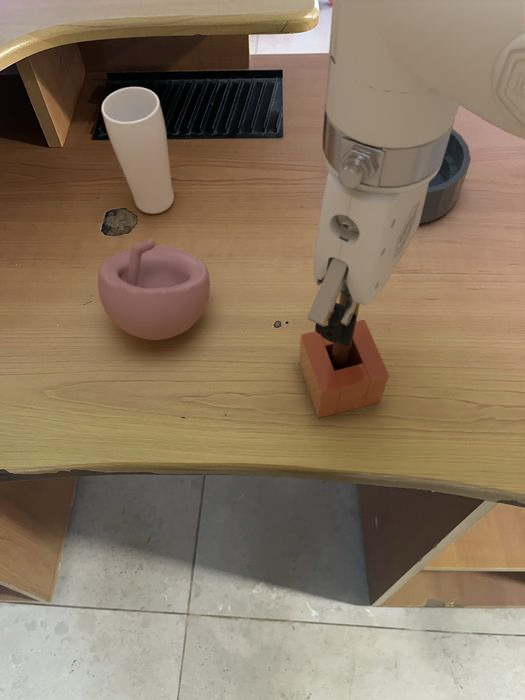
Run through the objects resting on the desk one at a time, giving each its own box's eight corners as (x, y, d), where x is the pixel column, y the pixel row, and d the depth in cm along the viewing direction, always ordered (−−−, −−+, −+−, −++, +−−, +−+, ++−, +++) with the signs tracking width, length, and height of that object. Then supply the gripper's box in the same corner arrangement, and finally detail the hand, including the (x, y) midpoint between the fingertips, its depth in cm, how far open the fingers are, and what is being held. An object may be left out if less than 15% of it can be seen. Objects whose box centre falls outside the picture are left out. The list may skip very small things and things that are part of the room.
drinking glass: (189, 205, 77) (170, 108, 64) (145, 227, 75) (117, 131, 62) (164, 177, 80) (142, 78, 67) (121, 197, 78) (90, 100, 65)
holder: (358, 348, 65) (364, 318, 59) (380, 402, 61) (389, 375, 56) (298, 363, 64) (300, 334, 59) (318, 418, 60) (321, 392, 55)
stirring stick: (340, 372, 63) (363, 252, 46) (346, 385, 62) (370, 269, 45) (325, 375, 63) (341, 257, 46) (330, 389, 62) (349, 274, 45)
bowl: (431, 142, 82) (441, 105, 77) (476, 214, 75) (490, 178, 69) (334, 162, 80) (338, 126, 75) (370, 237, 73) (377, 203, 68)
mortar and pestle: (225, 283, 70) (216, 217, 60) (200, 367, 64) (185, 308, 54) (132, 269, 71) (108, 202, 62) (99, 350, 65) (67, 290, 56)
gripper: (383, 252, 30) (349, 401, 45) (492, 73, 37) (431, 252, 52) (259, 202, 32) (266, 360, 47) (386, 42, 39) (357, 223, 55)
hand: (353, 302), depth 50 cm, fingers open, 7 cm apart
